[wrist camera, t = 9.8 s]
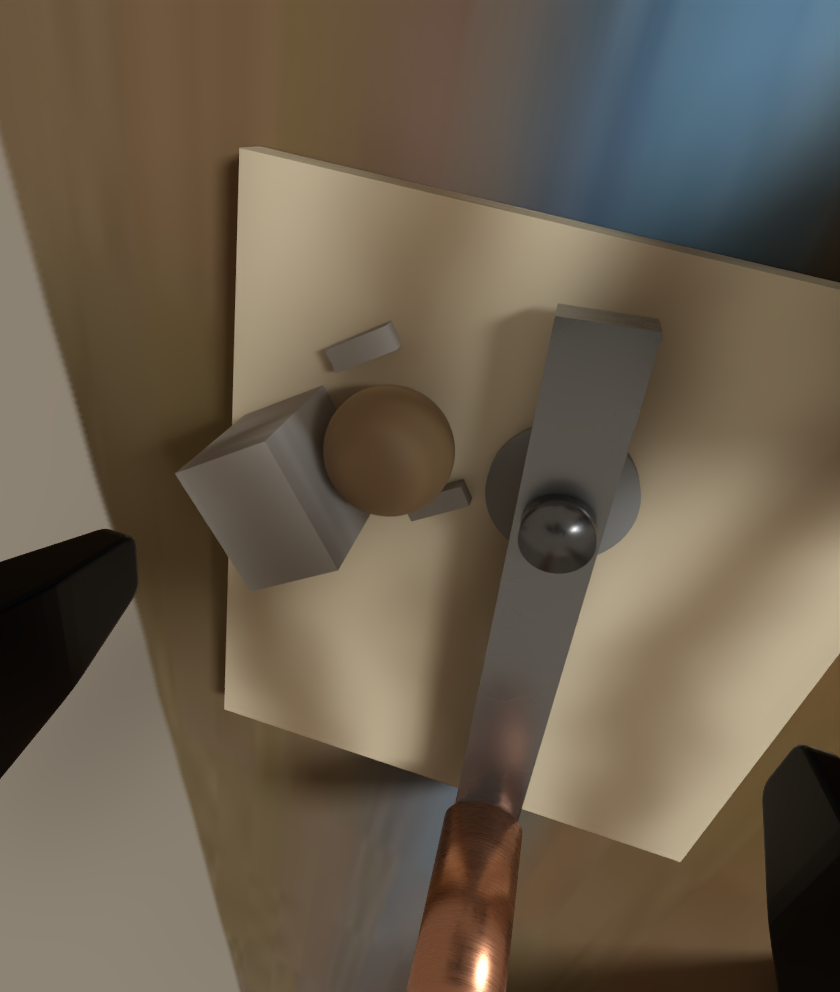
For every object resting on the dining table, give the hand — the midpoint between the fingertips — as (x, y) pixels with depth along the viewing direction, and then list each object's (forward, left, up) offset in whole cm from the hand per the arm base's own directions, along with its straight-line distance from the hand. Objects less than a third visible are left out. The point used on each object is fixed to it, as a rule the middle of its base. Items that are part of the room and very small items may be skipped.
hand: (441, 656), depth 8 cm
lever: (-2, +8, -10) cm, 13 cm away
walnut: (+3, +2, -11) cm, 11 cm away
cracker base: (-2, +7, -12) cm, 14 cm away
